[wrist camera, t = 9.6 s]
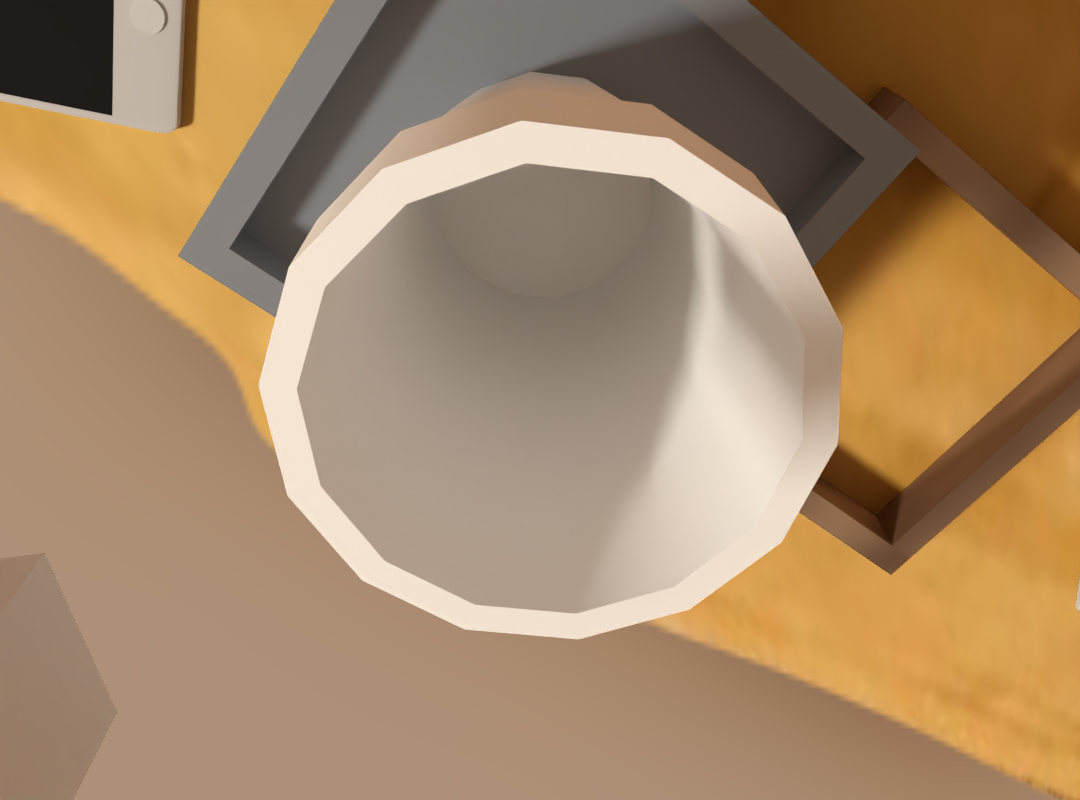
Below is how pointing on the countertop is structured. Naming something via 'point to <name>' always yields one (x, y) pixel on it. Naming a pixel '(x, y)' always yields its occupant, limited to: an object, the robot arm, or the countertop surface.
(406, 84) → the charcoal stand
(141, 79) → the smartphone
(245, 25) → the countertop surface
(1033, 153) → the countertop surface
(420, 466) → the foam cup
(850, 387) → the countertop surface
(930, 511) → the walnut collar
